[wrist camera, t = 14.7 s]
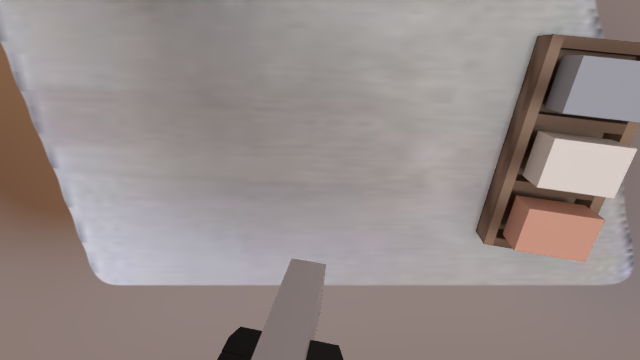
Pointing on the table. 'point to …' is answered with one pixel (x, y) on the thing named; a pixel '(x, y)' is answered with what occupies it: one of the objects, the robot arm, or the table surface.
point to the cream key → (578, 163)
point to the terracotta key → (552, 228)
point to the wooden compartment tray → (548, 130)
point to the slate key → (597, 88)
